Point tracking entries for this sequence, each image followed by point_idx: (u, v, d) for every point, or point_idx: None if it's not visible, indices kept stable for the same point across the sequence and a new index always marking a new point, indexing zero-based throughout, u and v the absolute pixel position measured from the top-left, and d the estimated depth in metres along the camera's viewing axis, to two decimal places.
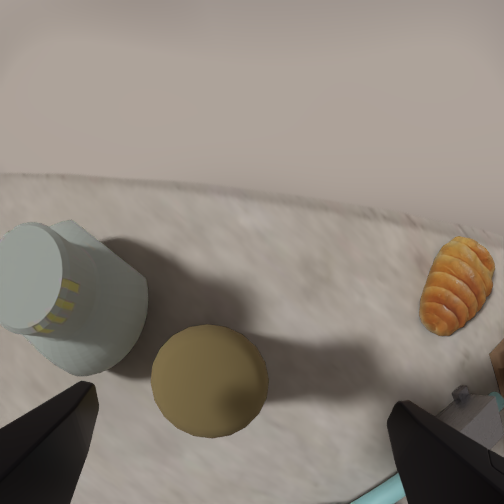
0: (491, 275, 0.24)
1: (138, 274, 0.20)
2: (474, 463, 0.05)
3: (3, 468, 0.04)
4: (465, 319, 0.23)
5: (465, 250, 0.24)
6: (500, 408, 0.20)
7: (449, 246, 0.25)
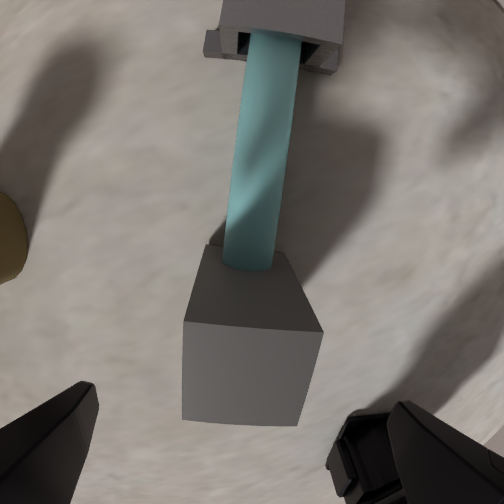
0: None
1: None
2: (474, 463, 0.05)
3: (3, 468, 0.04)
4: None
5: None
6: None
7: None
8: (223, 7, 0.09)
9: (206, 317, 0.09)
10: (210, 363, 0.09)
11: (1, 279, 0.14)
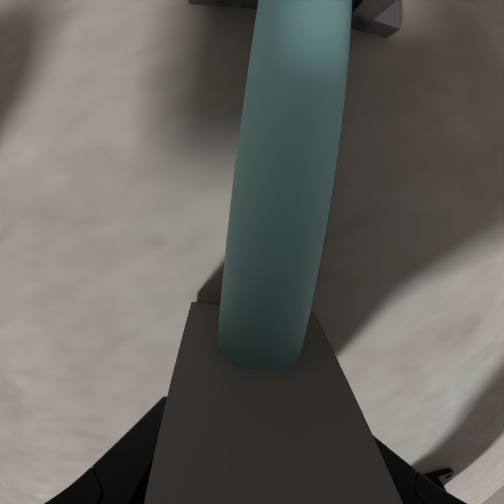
0: None
1: None
2: None
3: None
4: None
5: None
6: None
7: None
8: None
9: None
10: None
11: None
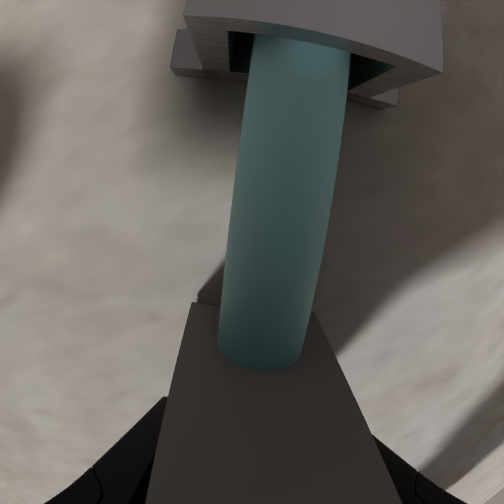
0: None
1: None
2: None
3: None
4: None
5: None
6: None
7: None
8: None
9: None
10: None
11: None
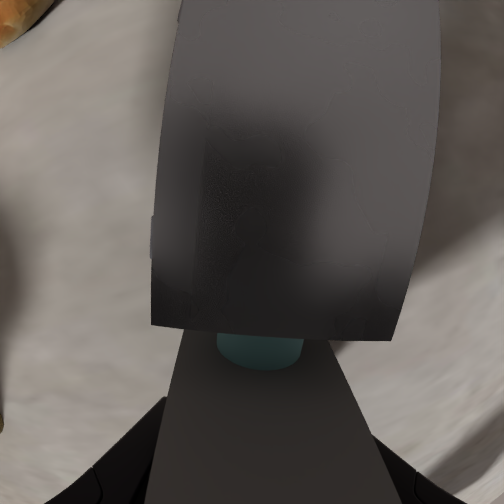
0: None
1: None
2: None
3: None
4: None
5: None
6: None
7: None
8: (154, 286, 0.05)
9: None
10: None
11: None
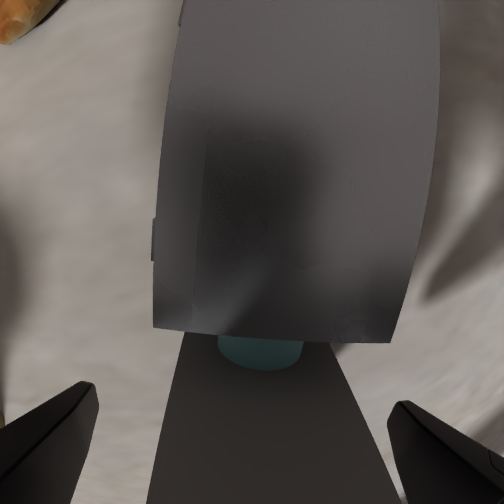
0: None
1: None
2: (474, 463, 0.05)
3: (3, 468, 0.04)
4: None
5: None
6: None
7: None
8: (155, 289, 0.05)
9: None
10: None
11: None
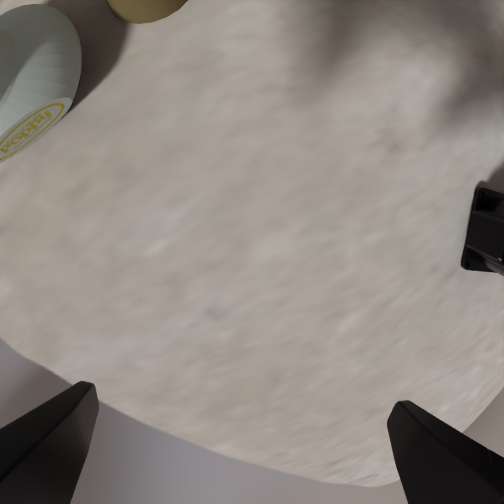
0: None
1: None
2: (474, 463, 0.05)
3: (3, 468, 0.04)
4: None
5: None
6: None
7: None
8: None
9: None
10: None
11: None
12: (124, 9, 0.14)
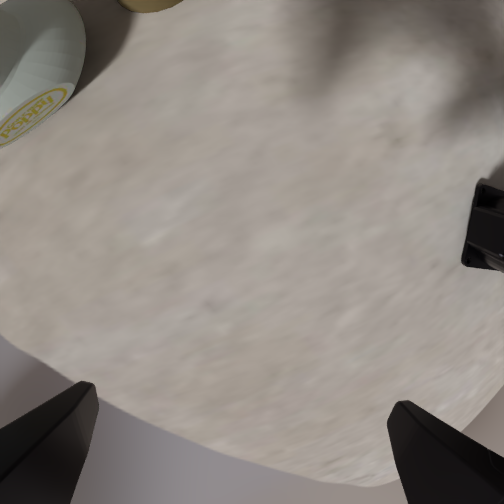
0: None
1: None
2: (474, 463, 0.05)
3: (3, 468, 0.04)
4: None
5: None
6: None
7: None
8: None
9: None
10: None
11: None
12: None
